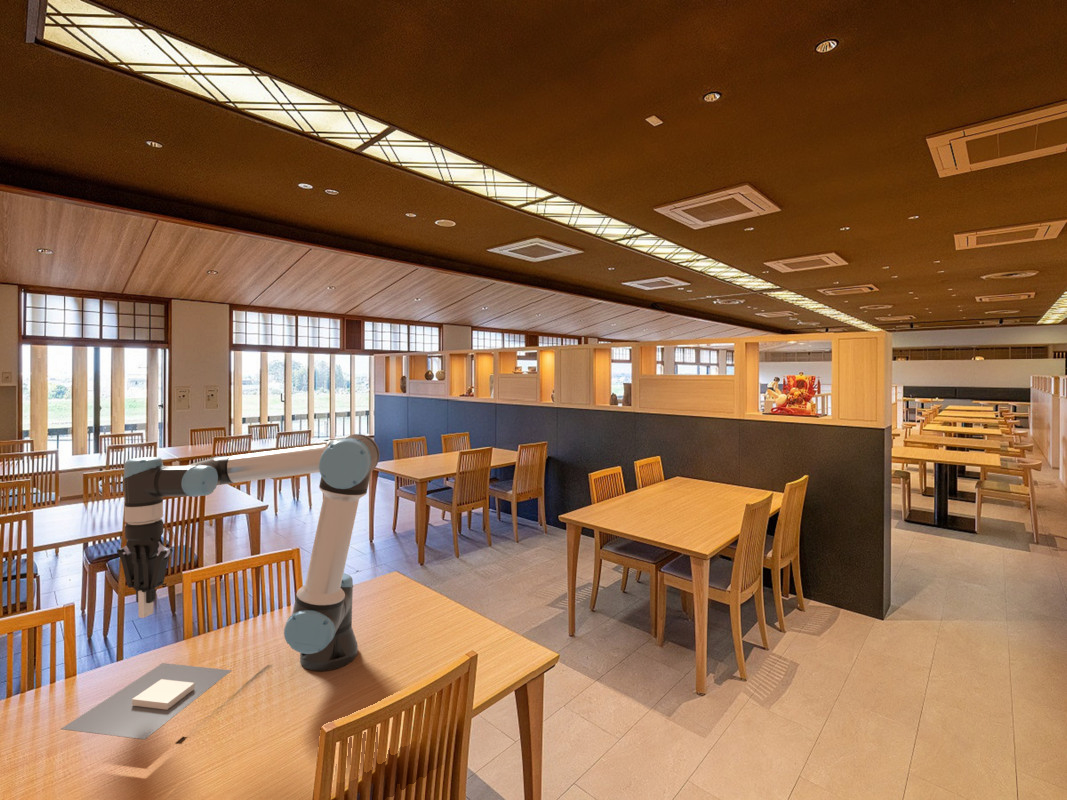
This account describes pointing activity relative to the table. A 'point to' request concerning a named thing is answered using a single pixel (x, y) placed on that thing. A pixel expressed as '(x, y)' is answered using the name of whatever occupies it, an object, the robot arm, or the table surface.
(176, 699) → the tile
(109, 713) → the slate board
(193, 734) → the table surface
